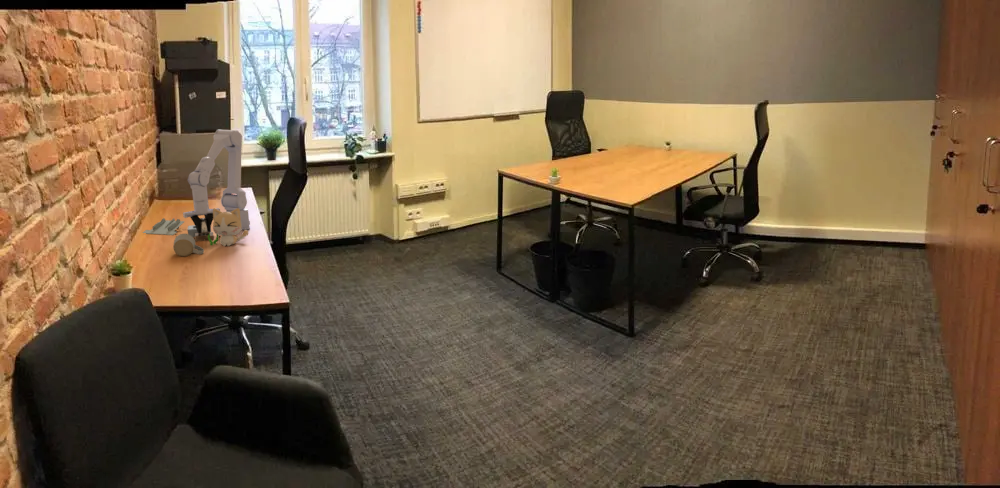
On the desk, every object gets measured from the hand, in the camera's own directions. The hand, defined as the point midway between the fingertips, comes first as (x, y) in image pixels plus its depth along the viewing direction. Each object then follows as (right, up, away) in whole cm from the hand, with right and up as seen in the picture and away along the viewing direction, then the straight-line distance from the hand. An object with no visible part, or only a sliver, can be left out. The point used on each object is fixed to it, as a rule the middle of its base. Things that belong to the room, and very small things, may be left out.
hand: (203, 232), depth 294 cm
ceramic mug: (+4, -9, -23) cm, 25 cm away
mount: (0, -3, +1) cm, 3 cm away
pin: (0, -3, +1) cm, 3 cm away
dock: (-5, -1, +8) cm, 9 cm away
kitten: (+13, -5, -8) cm, 17 cm away
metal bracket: (-22, 0, +14) cm, 26 cm away
